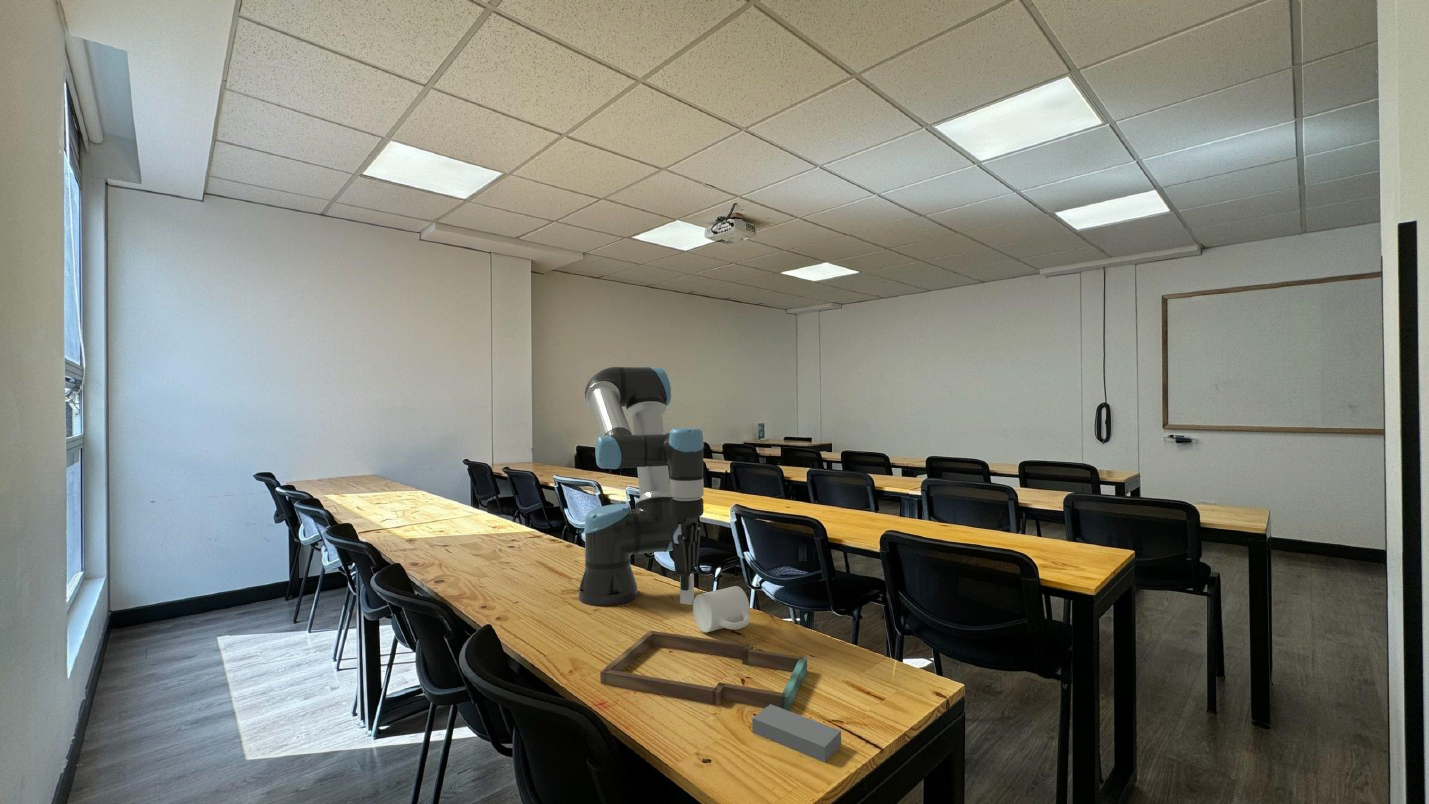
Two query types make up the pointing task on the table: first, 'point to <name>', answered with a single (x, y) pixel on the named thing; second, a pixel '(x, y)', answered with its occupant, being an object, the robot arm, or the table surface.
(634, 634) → the table surface
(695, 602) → the mug
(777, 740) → the block
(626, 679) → the keyhole corral
